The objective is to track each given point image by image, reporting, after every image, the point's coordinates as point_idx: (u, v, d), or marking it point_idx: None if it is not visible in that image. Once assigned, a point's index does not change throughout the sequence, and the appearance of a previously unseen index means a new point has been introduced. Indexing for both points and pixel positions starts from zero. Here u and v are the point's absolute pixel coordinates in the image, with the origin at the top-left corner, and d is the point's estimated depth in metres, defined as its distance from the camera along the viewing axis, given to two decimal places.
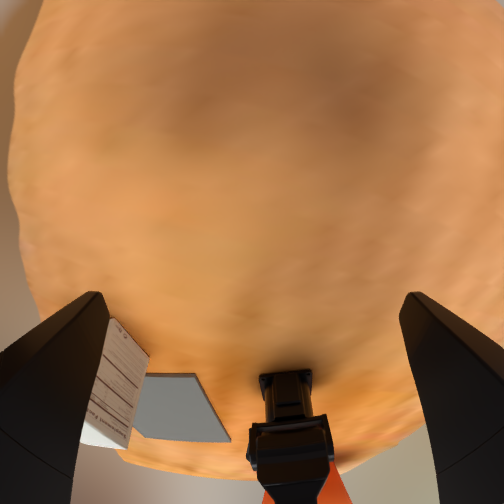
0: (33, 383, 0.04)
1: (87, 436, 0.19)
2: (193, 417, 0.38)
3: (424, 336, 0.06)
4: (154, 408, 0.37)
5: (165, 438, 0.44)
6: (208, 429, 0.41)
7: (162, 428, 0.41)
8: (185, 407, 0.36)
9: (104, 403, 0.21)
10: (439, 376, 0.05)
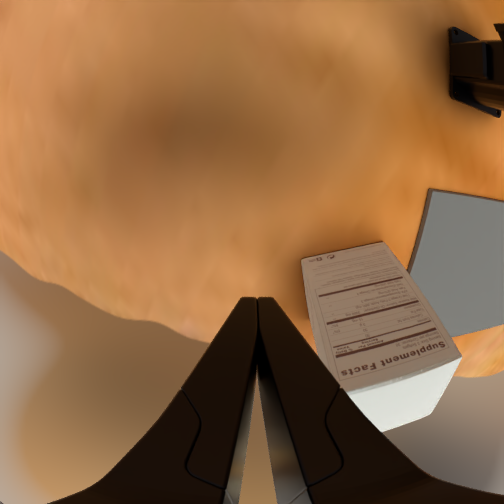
0: (244, 420, 0.04)
1: (406, 404, 0.12)
2: (502, 237, 0.20)
3: (258, 350, 0.06)
4: (470, 283, 0.23)
5: None
6: None
7: (502, 291, 0.24)
8: (482, 237, 0.20)
9: (371, 337, 0.14)
10: (265, 400, 0.05)
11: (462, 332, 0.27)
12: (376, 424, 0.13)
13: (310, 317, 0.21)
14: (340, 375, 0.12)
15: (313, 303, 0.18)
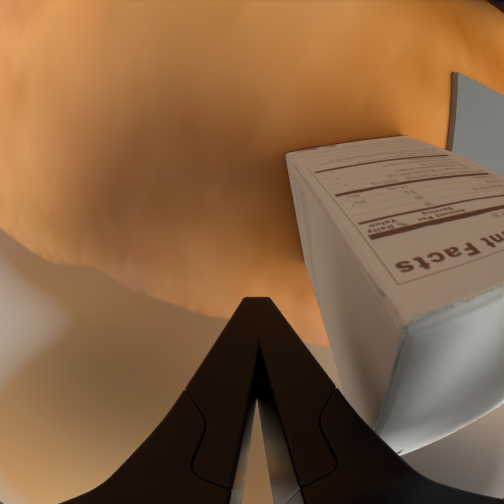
0: (248, 420, 0.04)
1: None
2: None
3: None
4: None
5: None
6: None
7: None
8: None
9: (438, 206, 0.06)
10: (261, 400, 0.05)
11: None
12: (450, 421, 0.05)
13: (304, 241, 0.13)
14: (397, 272, 0.04)
15: (306, 182, 0.09)
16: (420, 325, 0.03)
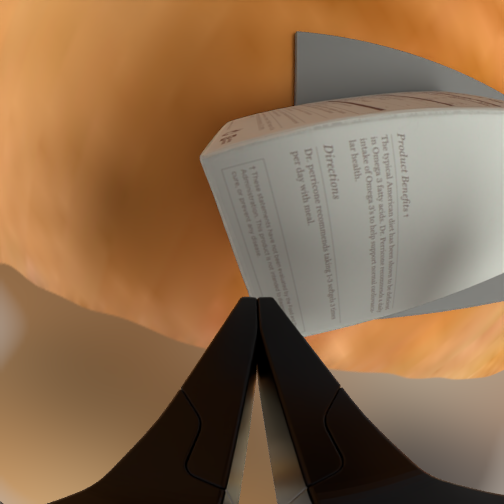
0: (244, 420, 0.04)
1: None
2: None
3: (258, 350, 0.06)
4: None
5: None
6: None
7: None
8: None
9: (452, 97, 0.07)
10: (265, 400, 0.05)
11: (435, 308, 0.19)
12: None
13: (337, 257, 0.08)
14: None
15: (403, 117, 0.06)
16: None
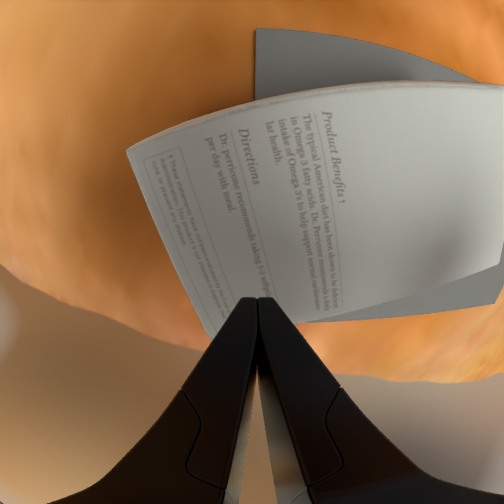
0: (244, 420, 0.04)
1: None
2: None
3: (258, 350, 0.06)
4: None
5: None
6: None
7: None
8: None
9: None
10: (265, 400, 0.05)
11: (415, 310, 0.19)
12: None
13: (266, 247, 0.08)
14: (483, 83, 0.05)
15: (328, 94, 0.06)
16: None
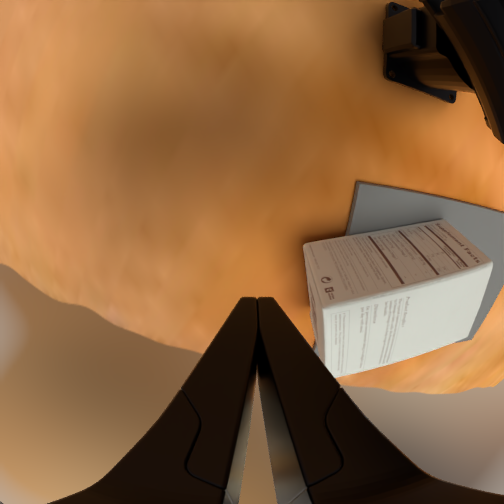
0: (244, 420, 0.04)
1: None
2: None
3: (258, 350, 0.06)
4: None
5: (485, 312, 0.26)
6: (494, 236, 0.20)
7: None
8: None
9: (443, 250, 0.16)
10: (265, 400, 0.05)
11: None
12: None
13: (368, 343, 0.16)
14: (479, 262, 0.14)
15: (411, 289, 0.14)
16: (491, 261, 0.13)
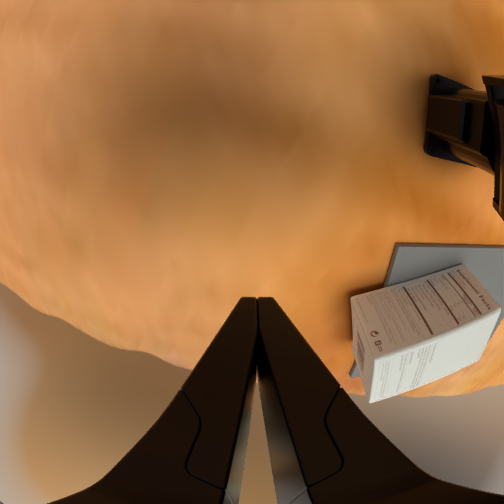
0: (244, 420, 0.04)
1: None
2: None
3: (258, 350, 0.06)
4: None
5: (494, 327, 0.28)
6: None
7: None
8: None
9: (463, 299, 0.18)
10: (265, 400, 0.05)
11: None
12: None
13: (404, 376, 0.19)
14: (491, 309, 0.16)
15: (438, 338, 0.17)
16: None
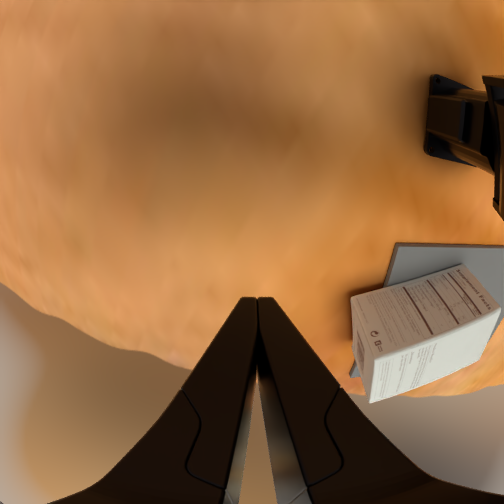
0: (244, 420, 0.04)
1: None
2: None
3: (258, 349, 0.06)
4: None
5: (494, 327, 0.28)
6: None
7: None
8: None
9: (463, 299, 0.18)
10: (265, 400, 0.05)
11: None
12: None
13: (404, 376, 0.19)
14: (491, 309, 0.16)
15: (438, 338, 0.17)
16: None
